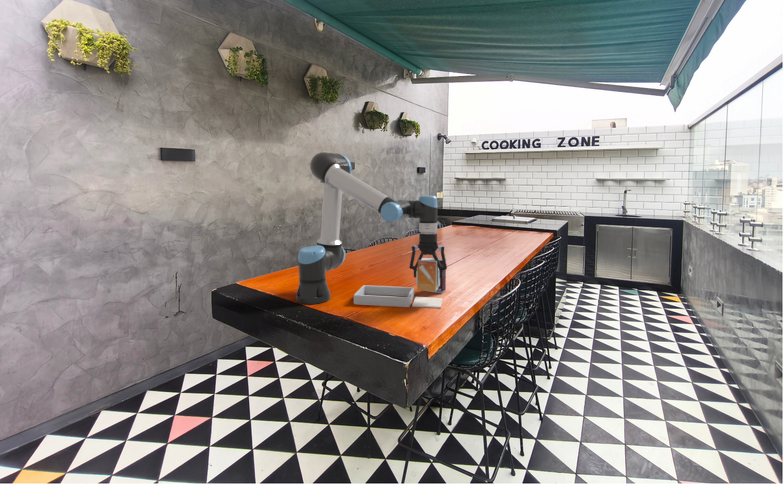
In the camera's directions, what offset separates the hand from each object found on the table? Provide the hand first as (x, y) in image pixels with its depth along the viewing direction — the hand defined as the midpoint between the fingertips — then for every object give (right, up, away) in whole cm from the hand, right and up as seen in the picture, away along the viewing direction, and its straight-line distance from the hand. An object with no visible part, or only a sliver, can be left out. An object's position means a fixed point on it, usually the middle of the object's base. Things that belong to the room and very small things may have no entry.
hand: (428, 285), depth 164 cm
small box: (0, -2, 0) cm, 2 cm away
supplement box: (+5, -5, +18) cm, 20 cm away
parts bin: (-18, -7, +6) cm, 21 cm away
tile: (0, -8, +1) cm, 8 cm away
